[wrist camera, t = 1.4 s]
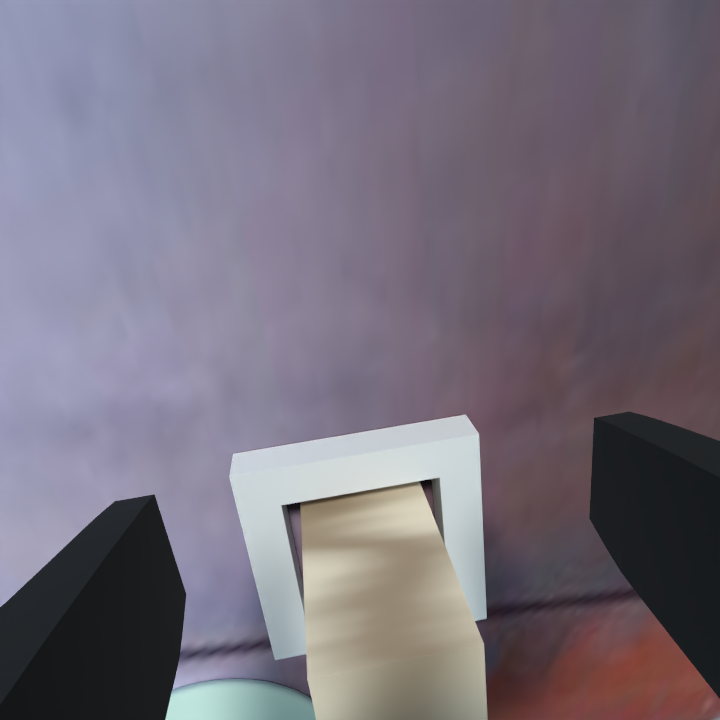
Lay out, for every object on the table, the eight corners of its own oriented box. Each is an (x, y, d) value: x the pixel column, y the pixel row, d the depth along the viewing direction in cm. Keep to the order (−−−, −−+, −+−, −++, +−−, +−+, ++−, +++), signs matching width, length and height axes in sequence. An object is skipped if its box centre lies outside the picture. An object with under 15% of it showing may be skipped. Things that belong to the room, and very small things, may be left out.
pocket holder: (275, 629, 23) (275, 660, 22) (233, 453, 20) (229, 476, 19) (475, 591, 24) (486, 618, 22) (465, 414, 21) (479, 434, 19)
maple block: (317, 581, 23) (332, 792, 15) (299, 490, 21) (307, 679, 14) (424, 561, 23) (489, 759, 16) (415, 470, 21) (484, 644, 14)
